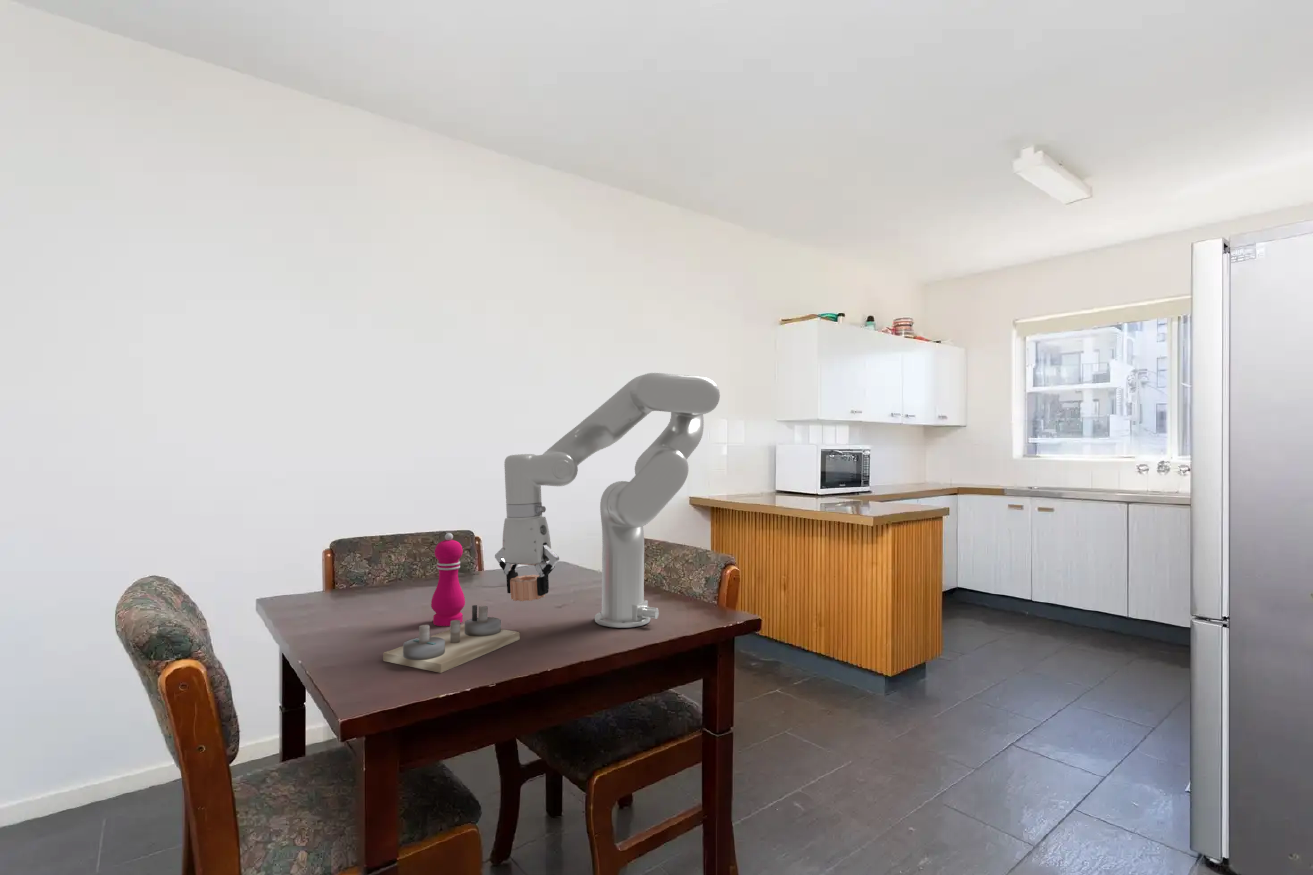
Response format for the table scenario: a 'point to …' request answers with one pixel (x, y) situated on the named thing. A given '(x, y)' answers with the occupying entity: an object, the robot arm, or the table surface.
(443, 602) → the pepper mill
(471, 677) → the table surface
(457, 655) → the board
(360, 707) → the table surface
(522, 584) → the gear
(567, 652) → the table surface
